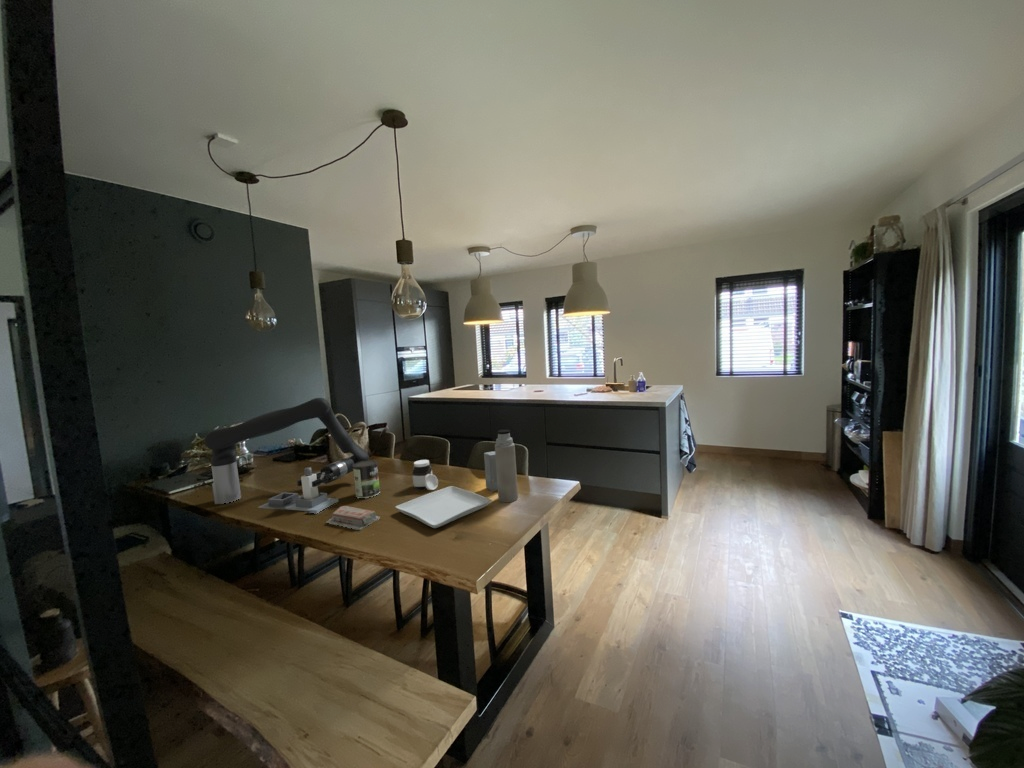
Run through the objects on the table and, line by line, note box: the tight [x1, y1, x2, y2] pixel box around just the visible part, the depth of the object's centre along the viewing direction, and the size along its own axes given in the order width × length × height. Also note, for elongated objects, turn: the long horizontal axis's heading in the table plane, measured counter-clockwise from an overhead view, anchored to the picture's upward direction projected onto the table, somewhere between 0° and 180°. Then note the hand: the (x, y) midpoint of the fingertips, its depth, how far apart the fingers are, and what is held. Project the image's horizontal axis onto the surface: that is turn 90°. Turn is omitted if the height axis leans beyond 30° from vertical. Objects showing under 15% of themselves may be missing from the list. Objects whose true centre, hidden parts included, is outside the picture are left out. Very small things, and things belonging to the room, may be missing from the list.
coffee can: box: [352, 459, 381, 499], centre depth 178 cm, size 10×10×14 cm
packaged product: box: [325, 505, 381, 531], centre depth 151 cm, size 18×5×10 cm
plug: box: [300, 466, 320, 500], centre depth 168 cm, size 4×4×15 cm
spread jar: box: [411, 459, 439, 491], centre depth 182 cm, size 12×11×12 cm
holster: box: [256, 492, 303, 510], centre depth 174 cm, size 14×14×4 cm
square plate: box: [394, 485, 493, 529], centre depth 155 cm, size 27×27×4 cm
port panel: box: [284, 492, 339, 515], centre depth 168 cm, size 16×12×4 cm
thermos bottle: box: [494, 429, 519, 503], centre depth 162 cm, size 8×8×28 cm
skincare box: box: [483, 450, 498, 493], centre depth 176 cm, size 8×7×16 cm
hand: (305, 484), depth 165 cm, fingers open, 7 cm apart
